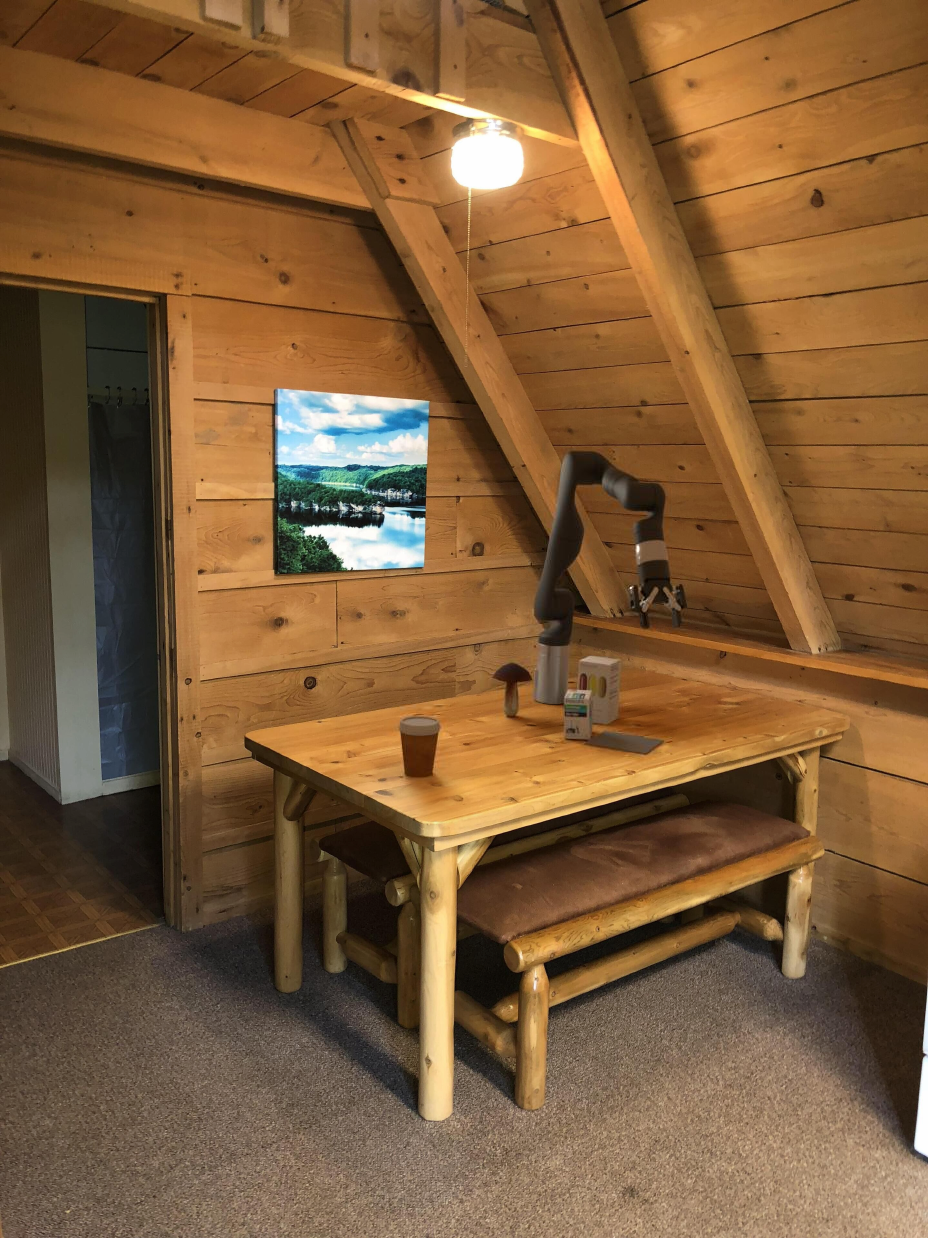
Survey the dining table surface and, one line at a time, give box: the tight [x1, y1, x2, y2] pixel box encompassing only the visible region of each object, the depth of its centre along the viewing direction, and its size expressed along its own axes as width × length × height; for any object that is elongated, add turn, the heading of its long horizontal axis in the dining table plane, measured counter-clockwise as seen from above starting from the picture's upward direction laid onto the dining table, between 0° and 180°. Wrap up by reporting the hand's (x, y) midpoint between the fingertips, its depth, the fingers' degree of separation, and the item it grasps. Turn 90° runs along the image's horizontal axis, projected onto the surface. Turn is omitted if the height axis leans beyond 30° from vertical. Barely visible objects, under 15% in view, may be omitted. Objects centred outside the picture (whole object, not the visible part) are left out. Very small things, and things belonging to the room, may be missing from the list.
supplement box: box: [576, 655, 622, 726], centre depth 273 cm, size 10×9×17 cm
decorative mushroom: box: [491, 662, 533, 717], centre depth 274 cm, size 11×11×15 cm
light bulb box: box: [563, 688, 594, 741], centre depth 257 cm, size 11×7×11 cm, turn 168°
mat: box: [584, 730, 665, 755], centre depth 252 cm, size 16×14×1 cm
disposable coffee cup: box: [397, 715, 442, 778], centre depth 222 cm, size 10×10×12 cm
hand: (661, 628), depth 237 cm, fingers open, 8 cm apart
